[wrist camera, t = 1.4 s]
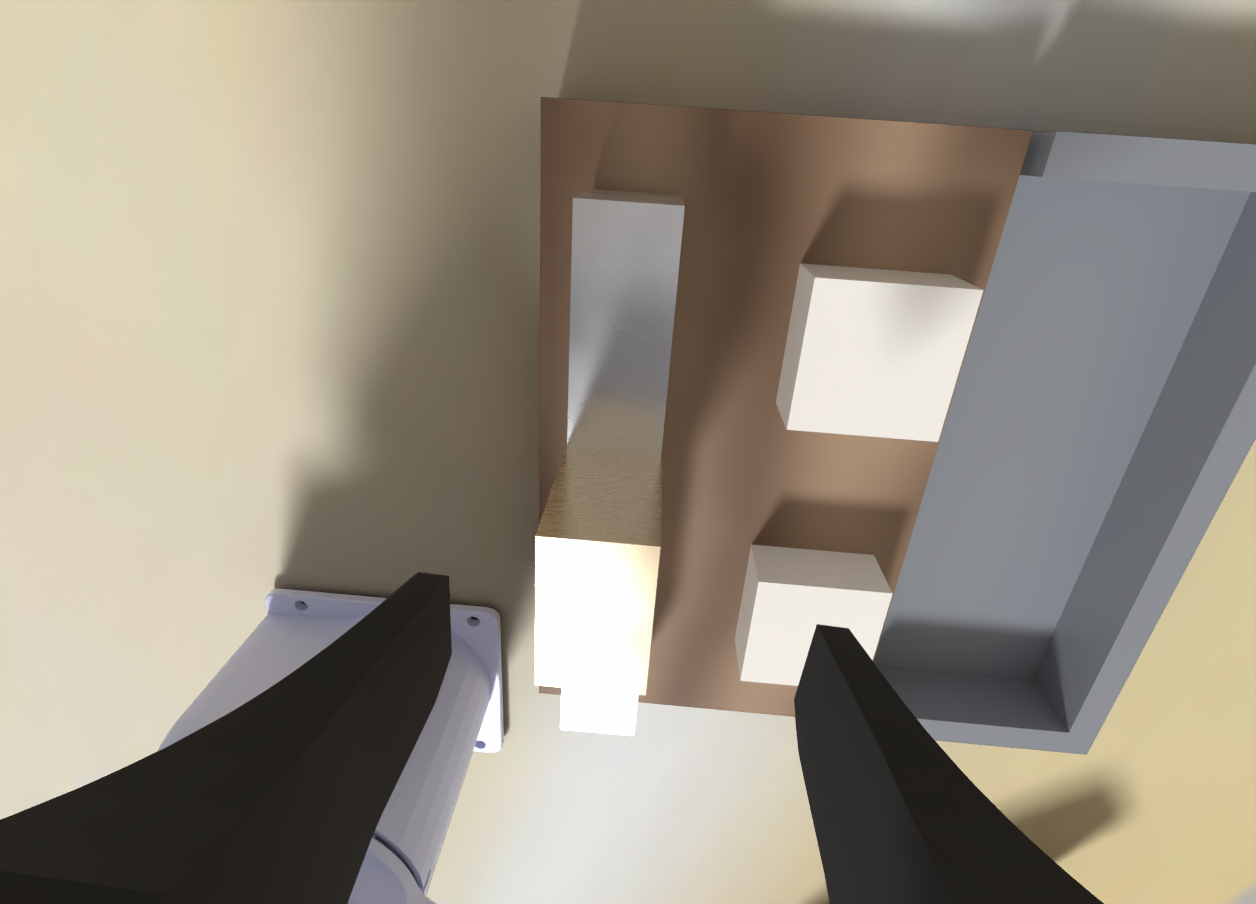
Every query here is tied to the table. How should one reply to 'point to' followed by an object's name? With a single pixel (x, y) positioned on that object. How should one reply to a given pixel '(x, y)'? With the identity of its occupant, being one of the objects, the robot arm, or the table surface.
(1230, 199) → the box
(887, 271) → the tile
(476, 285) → the table surface
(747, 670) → the tile
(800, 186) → the board
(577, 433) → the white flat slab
